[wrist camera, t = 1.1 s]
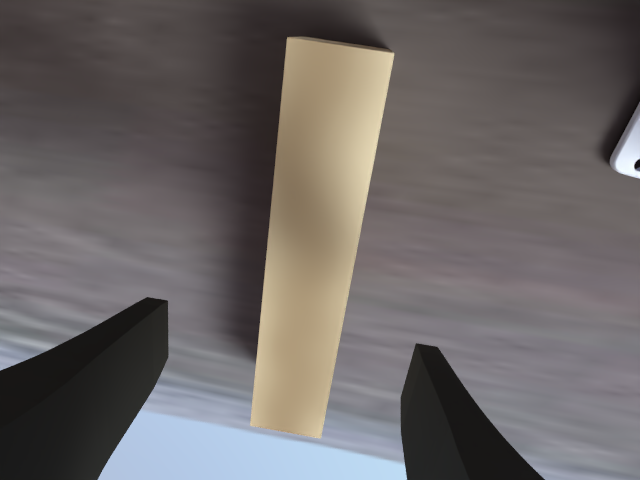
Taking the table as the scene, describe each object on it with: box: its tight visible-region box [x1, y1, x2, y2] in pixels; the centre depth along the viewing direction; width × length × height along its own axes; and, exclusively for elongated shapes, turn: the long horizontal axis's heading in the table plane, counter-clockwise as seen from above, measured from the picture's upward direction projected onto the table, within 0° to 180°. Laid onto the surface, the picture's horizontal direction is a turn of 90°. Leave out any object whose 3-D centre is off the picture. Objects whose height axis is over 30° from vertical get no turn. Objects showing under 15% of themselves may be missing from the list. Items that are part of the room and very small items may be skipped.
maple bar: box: [250, 36, 394, 438], centre depth 18 cm, size 3×16×4 cm, turn 172°
